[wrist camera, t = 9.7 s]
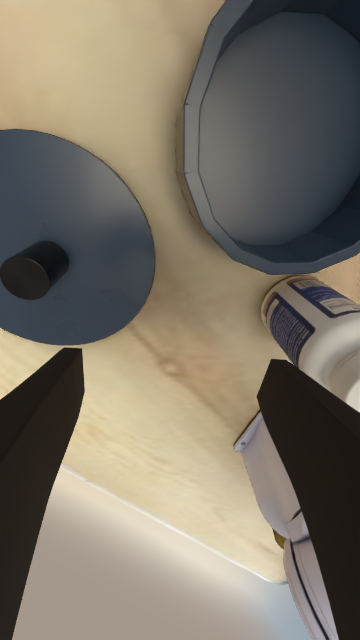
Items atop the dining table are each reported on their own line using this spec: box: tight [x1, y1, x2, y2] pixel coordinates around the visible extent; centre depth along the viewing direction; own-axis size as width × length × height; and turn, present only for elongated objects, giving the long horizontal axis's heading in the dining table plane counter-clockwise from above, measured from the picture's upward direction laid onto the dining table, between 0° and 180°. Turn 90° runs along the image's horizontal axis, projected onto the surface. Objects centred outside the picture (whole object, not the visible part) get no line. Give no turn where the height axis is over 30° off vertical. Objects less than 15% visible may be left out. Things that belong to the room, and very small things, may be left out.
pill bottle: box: [261, 276, 360, 412], centre depth 16 cm, size 5×5×10 cm
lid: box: [0, 129, 155, 345], centre depth 15 cm, size 13×13×5 cm
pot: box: [175, 0, 360, 275], centre depth 13 cm, size 12×12×5 cm
